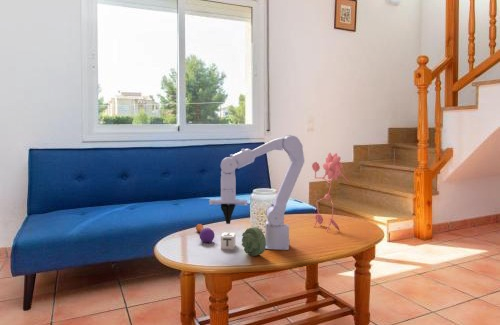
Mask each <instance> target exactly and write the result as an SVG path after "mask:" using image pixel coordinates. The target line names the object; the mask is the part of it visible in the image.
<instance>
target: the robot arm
mask: <svg viewBox="0 0 500 325" xmlns="http://www.w3.org/2000/svg"><path fill="white" fill-rule="evenodd" d="M303 148H304V147H303V144H302V142H301V140H300V138H298V136H295V135H291V134H287V135H285V136H280V137H278V138H274V139H272V140H270V141H267V142H266V143H264V144H261V145H260V146H258V147H256V148H254V149H250V148H241V150H240V151H239V152H237V153H234V154H233V153H231V154H229V156H228V157H227V156H226V157H224V158H223V159H221V162H220V169H221V171H220V175H221V176H220V198H210V199H209V200H208V203H209V204H208V205H209V206H212V205H214V206H215V205H217V206H218V205H219V206H220V209H221V211H222V214H223V216H224V219H225V224H226V225H230V224H231V220H232V215H233V213H234V210H235V208H236V206H243V207H244V206H248V199H241V198H236V197H237V196H236V195H237V194H236V191H237V190H236V189H237V188H236V186H237V182H236V179H237V178H236V177H237V176H236V169H238V170H239V169H241V168H243V167H246V166H247V165H249V164H253V163H254V162H255V159H256V158H258V157H261V156H262V155H264V154H267V153H270V152H272V151H275V150H276V151H283V150H284V152H286V154H287V156H288V158H289V160H290V162H289V164H288V167H287V169H286V172H285V175H284V176H283V178H282V180H281V181H282V182H281V184H280V186H279V188H278V191H277V193H276V196H275V198H274V199H273V200H272V202H271V204H270V205H269V206H268V207H267V208H266V211H265V215H266V218H267V220H266V222H265V235H264V236H265V240H266V247H265V250H277V251H278V250H281V251H286V250H287V251H288V250H290V249H289V248H290V246H289V245H290V244H291V242H290V240H291V239H290V225H289V224H285V223H284V221H285V212H286V209H287V205H288V204H287V203H288V202H289V199H290V196H291V195H292V192H293V190H294V188H295V185H296V183H297V180H298V178H299V175H300V173H301V171H302V168H303V166H304V164H305V154H304V149H303Z"/></svg>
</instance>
